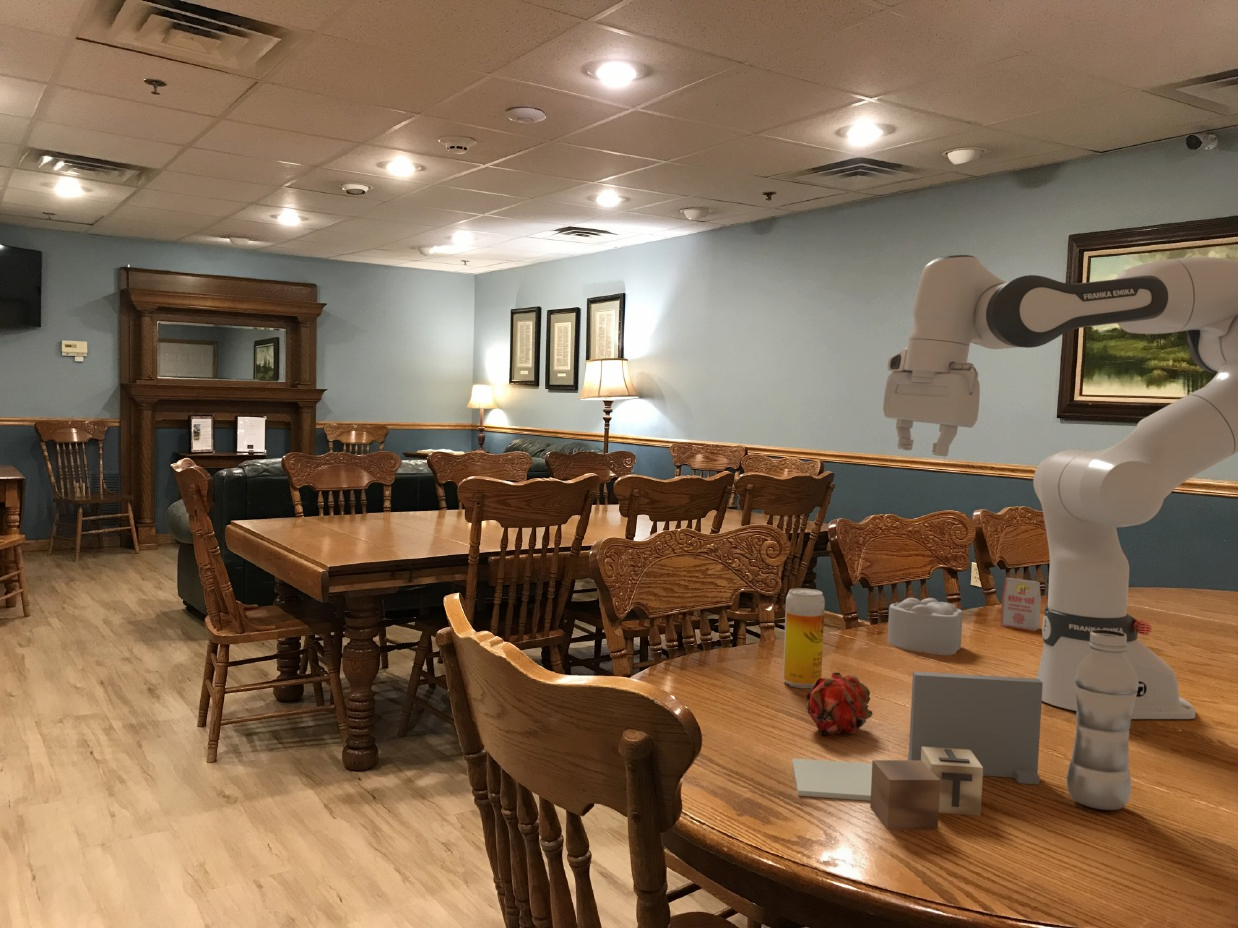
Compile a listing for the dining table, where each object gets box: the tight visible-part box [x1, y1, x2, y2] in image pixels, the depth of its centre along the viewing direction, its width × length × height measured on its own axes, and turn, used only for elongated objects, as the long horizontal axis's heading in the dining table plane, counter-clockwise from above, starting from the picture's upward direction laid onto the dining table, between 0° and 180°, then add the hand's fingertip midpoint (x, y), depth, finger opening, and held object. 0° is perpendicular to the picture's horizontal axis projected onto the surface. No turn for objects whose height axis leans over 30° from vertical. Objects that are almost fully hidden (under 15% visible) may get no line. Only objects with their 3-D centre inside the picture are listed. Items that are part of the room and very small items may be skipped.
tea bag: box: [999, 577, 1042, 632], centre depth 198 cm, size 4×7×10 cm, turn 52°
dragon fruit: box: [805, 671, 874, 736], centre depth 131 cm, size 8×8×12 cm
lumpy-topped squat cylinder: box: [887, 597, 963, 656], centre depth 180 cm, size 10×13×9 cm
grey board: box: [907, 671, 1043, 785], centre depth 117 cm, size 15×5×12 cm, turn 84°
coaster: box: [791, 757, 872, 802], centre depth 113 cm, size 10×10×1 cm
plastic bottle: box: [1065, 629, 1139, 811], centre depth 108 cm, size 6×7×20 cm
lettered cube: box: [921, 747, 984, 816], centre depth 108 cm, size 6×6×6 cm
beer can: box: [782, 588, 826, 689], centre depth 152 cm, size 6×6×15 cm
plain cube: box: [869, 759, 940, 831], centre depth 103 cm, size 6×6×6 cm
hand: (921, 452), depth 145 cm, fingers open, 8 cm apart
